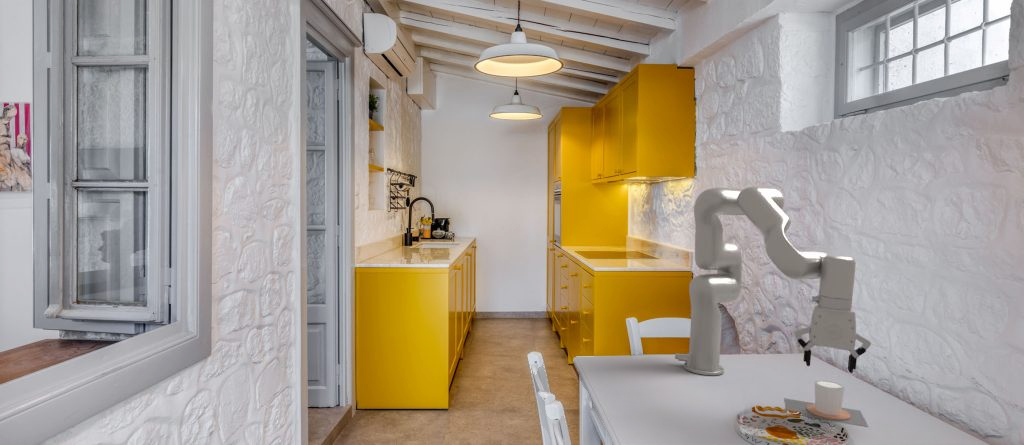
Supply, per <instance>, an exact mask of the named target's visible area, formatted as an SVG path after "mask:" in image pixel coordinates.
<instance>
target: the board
mask: <svg viewBox="0 0 1024 445" xmlns="http://www.w3.org/2000/svg"><path fill="white" fill-rule="evenodd" d="M810 404H815V402H809V401H804V400H798V399H797V400H796V399H790V398H784V405H785V411H786V410H794V411H797V412H801V414H802V415H800V416H801V417H806V418H811V419H812V418H813V419H818V420H823V421H829V422H835V423H842V424H847V425H852V426H857V427H864V428H869V425H868V424H867V421H866V419H865V418H864V416H863V414H862V412H861V410H859V409H858V410H857V409H852V408H847V407H841V409H843V410H845V411H847V412H849V413H850V415H851V418H850V419H848V420H831V419H826V418H822V417H819V416H816V415H814V414H812V413H810V412H809V411H807V405H810ZM800 416H799V417H800Z"/></svg>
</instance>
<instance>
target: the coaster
mask: <svg viewBox="0 0 1024 445" xmlns="http://www.w3.org/2000/svg"><path fill="white" fill-rule="evenodd" d="M807 411H809V412H810V413H812V414H814V415H816V416H819V417H822V418H826V419H831V420H848V419H850V418H851V415H850V413H849V412H847V411H845V410H843V409H841V412H840V414H839V415H829V414H824V413H821V412H819V411H817V410H816V408H815V404H810V405H807Z"/></svg>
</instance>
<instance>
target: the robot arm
mask: <svg viewBox="0 0 1024 445" xmlns="http://www.w3.org/2000/svg"><path fill="white" fill-rule="evenodd" d="M784 206H785V198H784V196H783V194H782V193H781V192H780V191H779V190H778V189H776V188H774V187H770V186H769V187H766V186H748V187H746V188H743V189H742V188H728V187H712V188H708V189H705V190H704V191H702V192H700V193H699V195H698V196H697V197H696V199H695V202H694V206H693V216H694V224H695V225H694V226H695V227H694V228H695V233H694V262H695V264H696V267H698V268H699V269H701V270H706V271H713V270H716V273H703V274H699V275H696V276H695V277H692V279H691V280H690V282H689V285H688V286H689V287H688V289H689V292H688V293H689V297H690V330H689V332H690V333H689V352H688V353H685V354H683V353H677V352H676V353H675V354H674V359H675V360H677V361H679V362H684V363H683V368H684V369H685V370H687V372H691V373H694V374H698V375H702V376H703V375H704V376H720V375H723V374H724V372H725V368H724V366H722V365H720V357H721V356H720V355H721V343H722V342H721V340H722V320H723V319H722V312H721V310H720V308H719V305H718V304H720V303H721V304H722V303H729V302H734V301H736V300H737V299H738V298H739V296H740V294H741V291H742V282H743V281H742V280H743V279H742V275H743V274H742V271H743V270H742V269H743V268H742V266H743V257H742V256H743V255H742V251H741V250H740V248H739V246H738V245H737V244H736V243H735V242H732V241H729V240H724V238H723V237H724V236H723V235H724V228H723V224H722V220H721V219H720V218H719V216H720V215H723V216H745V217H747V219H748V220H749V221H750V222H751V223H752V224H753V226H754V227H755V228H756V229H757V231H759V233H760V234H761V235H762V236H763V243H764V244H763V245H764V248H765V251H766V254H767V256H768V258H769V260H770V261H771V262H772V263H773V265H775V267H776V268H777V269H778V270H779V271H780V273H782V274H783V275H785V276H786V277H788V278H789V279H791V280H818V279H819V289H818V294H817V295H815V296H812V297H811V302H815V303H816V304H817V305H815V306H814V308H813V311H812V315H811V321H810V326H807V327H806V326H805V327H804V328H799V329H796V330H794V332H793V334H794V336H795V338H796V340H797V343H798V344H799V345H800V346H801V347H802V349H804V351H803V362H805V364H806V367H810V366H811V360H812V348H813V347H815V346H816V347H820V348H827V349H834V350H835V349H836V350H842V351H848V352H849V355H848V361H847V370H848V372H849V373H850V374H853V372H854V370H856V369H857V360H858V358H859V357H860V356H861V355H863V354H865V353H866V352H867V350H868V349H869V348H870V346H871V345H872V342H871V341H870V340H868V339H867V338H866V337H864V336H862V335H860V334H859V333H857V324H856V323H857V320H856V311H855V310H853V309H852V305H853V296H854V295H853V294H854V288H855V286H854V284H855V275H856V274H855V273H856V264H857V263H856V260H855V259H854V258H853V257H851V256H847V255H839V254H830V253H827V252H823V251H819V250H797V248H795V246H794V245H793V244H792V243H791V242H790V241H789V240H788V239H787V238H788V237H786V234H785V233H786V232H787V231H788V230H789V228H790V227H791V224H792V220H791V218H790V217H789V216H788V214H786V213H785V212H784V210H783V209H784ZM806 334H808V339H809V340H807V341H805V340H804V339H803V338H802V335H806ZM856 340H857V341H858V342H860V343H862V344H861V346H859V347H858V348H857V349H856Z"/></svg>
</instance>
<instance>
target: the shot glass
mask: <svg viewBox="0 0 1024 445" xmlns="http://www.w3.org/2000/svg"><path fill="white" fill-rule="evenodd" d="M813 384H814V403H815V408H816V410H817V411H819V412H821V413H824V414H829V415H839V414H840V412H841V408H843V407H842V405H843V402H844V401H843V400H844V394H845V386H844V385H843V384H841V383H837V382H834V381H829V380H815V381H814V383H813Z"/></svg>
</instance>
